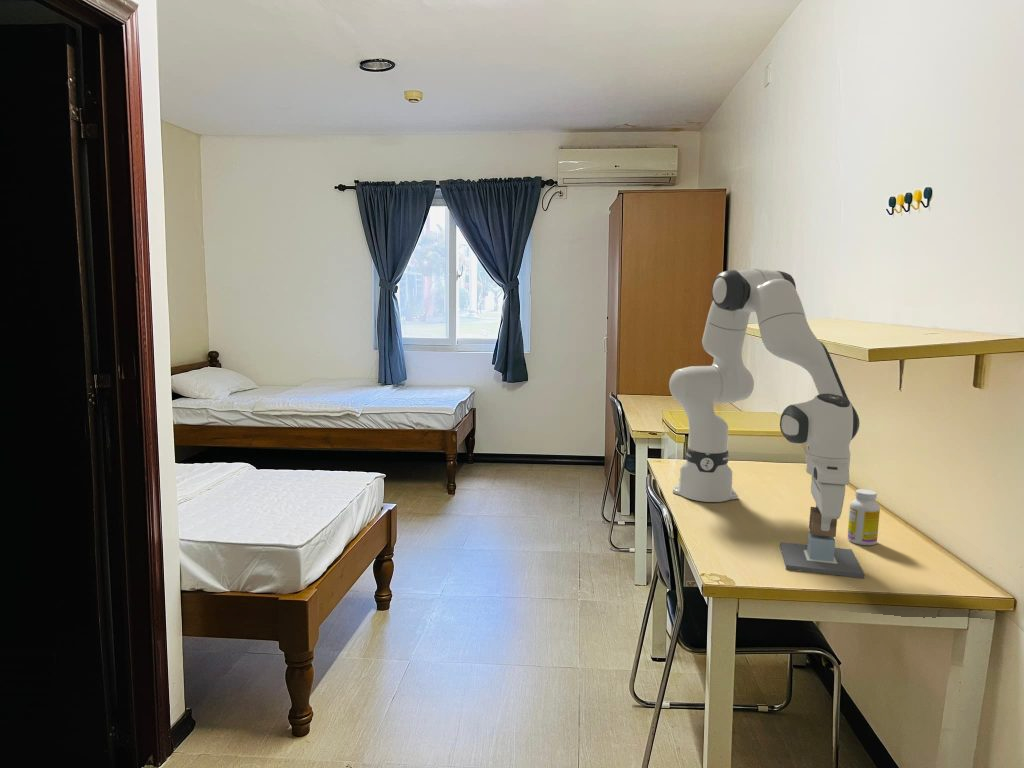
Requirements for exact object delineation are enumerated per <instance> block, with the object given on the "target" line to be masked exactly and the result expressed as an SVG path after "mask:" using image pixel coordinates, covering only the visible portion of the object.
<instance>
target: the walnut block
mask: <svg viewBox="0 0 1024 768" xmlns="http://www.w3.org/2000/svg"><path fill="white" fill-rule="evenodd" d="M809 509H810V510H809V511H810V512H809V523H808V524H809V525H808V528H809V531H811V534H812V535H820V536H830V537H834V538H837V537H836V535H837V525H838V519H832V520H831V523H830V530H829V531H822V530H821V528H820V523H821V517H822V515H821V513H820V511H819V509H818V507H816V506H810V508H809Z"/></svg>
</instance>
